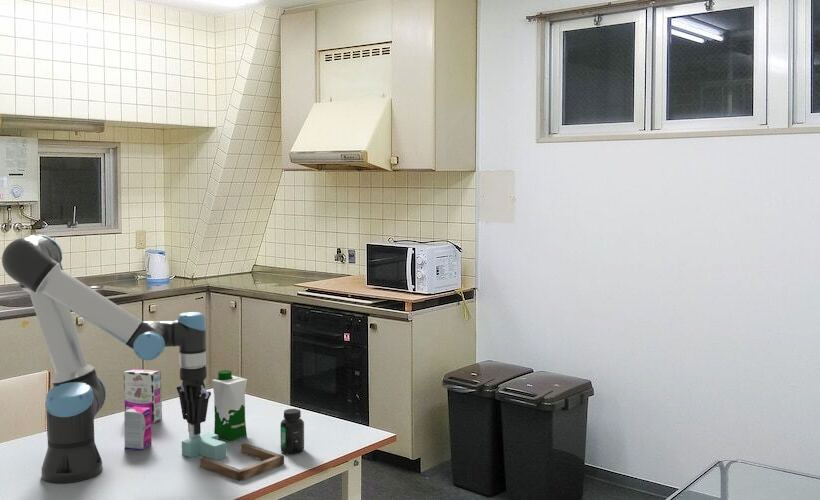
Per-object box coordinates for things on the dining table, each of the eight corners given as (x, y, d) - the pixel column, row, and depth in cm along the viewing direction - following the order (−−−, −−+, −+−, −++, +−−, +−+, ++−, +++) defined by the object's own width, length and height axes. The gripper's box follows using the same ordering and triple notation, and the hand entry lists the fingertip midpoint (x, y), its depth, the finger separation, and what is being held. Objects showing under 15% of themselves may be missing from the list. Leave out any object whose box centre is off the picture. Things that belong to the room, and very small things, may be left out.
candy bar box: (162, 419, 264) (161, 370, 262) (153, 424, 259) (152, 374, 257) (133, 416, 267) (132, 367, 265) (124, 420, 262) (122, 371, 261)
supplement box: (142, 451, 234) (141, 412, 233) (124, 449, 235) (122, 411, 234) (152, 444, 240) (151, 407, 239) (134, 442, 241) (133, 405, 240)
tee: (206, 463, 225) (206, 449, 225) (181, 454, 232) (181, 441, 231) (234, 453, 233) (234, 439, 232) (209, 445, 239) (209, 432, 239)
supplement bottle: (282, 456, 231) (281, 415, 230) (279, 448, 238) (279, 408, 236) (305, 453, 233) (305, 413, 232) (302, 446, 239) (302, 406, 238)
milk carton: (231, 430, 254) (230, 367, 252) (251, 435, 248) (250, 372, 246) (209, 437, 247) (208, 373, 245) (229, 443, 241) (228, 378, 239)
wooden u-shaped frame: (239, 481, 212) (239, 472, 212) (200, 467, 222) (199, 458, 222) (284, 464, 224) (284, 455, 224) (244, 451, 234) (244, 443, 234)
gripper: (217, 366, 233) (219, 445, 235) (189, 359, 240) (191, 436, 243) (196, 371, 227) (198, 452, 229) (168, 364, 234) (170, 443, 237)
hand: (194, 444), depth 236 cm, fingers closed
